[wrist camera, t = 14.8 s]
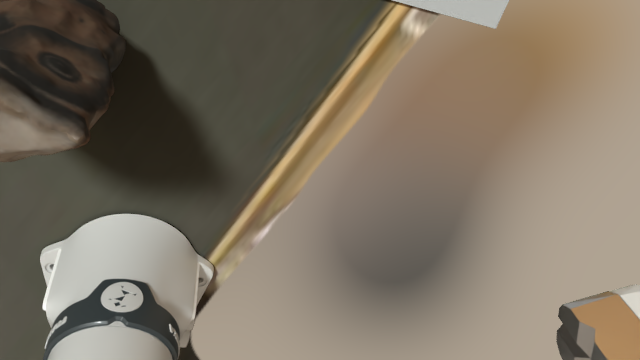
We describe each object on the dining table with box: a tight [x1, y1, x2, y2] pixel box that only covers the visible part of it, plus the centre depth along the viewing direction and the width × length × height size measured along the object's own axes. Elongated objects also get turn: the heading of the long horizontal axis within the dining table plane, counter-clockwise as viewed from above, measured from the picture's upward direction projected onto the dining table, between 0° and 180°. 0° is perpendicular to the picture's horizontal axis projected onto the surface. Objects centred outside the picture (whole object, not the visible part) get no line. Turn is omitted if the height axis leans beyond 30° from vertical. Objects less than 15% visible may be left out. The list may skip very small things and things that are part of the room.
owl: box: [0, 0, 126, 162], centre depth 36 cm, size 13×13×20 cm
